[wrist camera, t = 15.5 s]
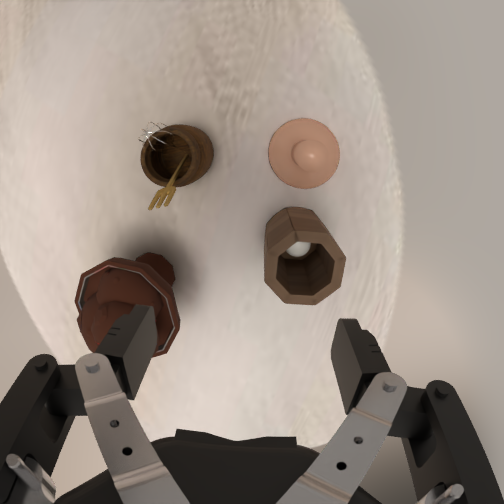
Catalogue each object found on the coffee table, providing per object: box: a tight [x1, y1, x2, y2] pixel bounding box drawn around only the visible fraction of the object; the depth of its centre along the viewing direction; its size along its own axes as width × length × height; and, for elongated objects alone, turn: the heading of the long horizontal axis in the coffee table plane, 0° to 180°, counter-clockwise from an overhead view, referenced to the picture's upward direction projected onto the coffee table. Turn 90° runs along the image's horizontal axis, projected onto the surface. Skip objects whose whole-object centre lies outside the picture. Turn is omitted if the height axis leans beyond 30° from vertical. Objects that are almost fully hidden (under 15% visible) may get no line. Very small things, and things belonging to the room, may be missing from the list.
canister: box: [264, 207, 346, 305], centre depth 30 cm, size 6×6×9 cm
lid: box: [269, 119, 340, 189], centre depth 28 cm, size 7×7×6 cm
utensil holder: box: [138, 122, 213, 210], centre depth 25 cm, size 6×6×12 cm
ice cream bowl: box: [75, 253, 180, 358], centre depth 29 cm, size 11×11×15 cm
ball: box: [286, 242, 311, 257], centre depth 32 cm, size 3×3×3 cm
